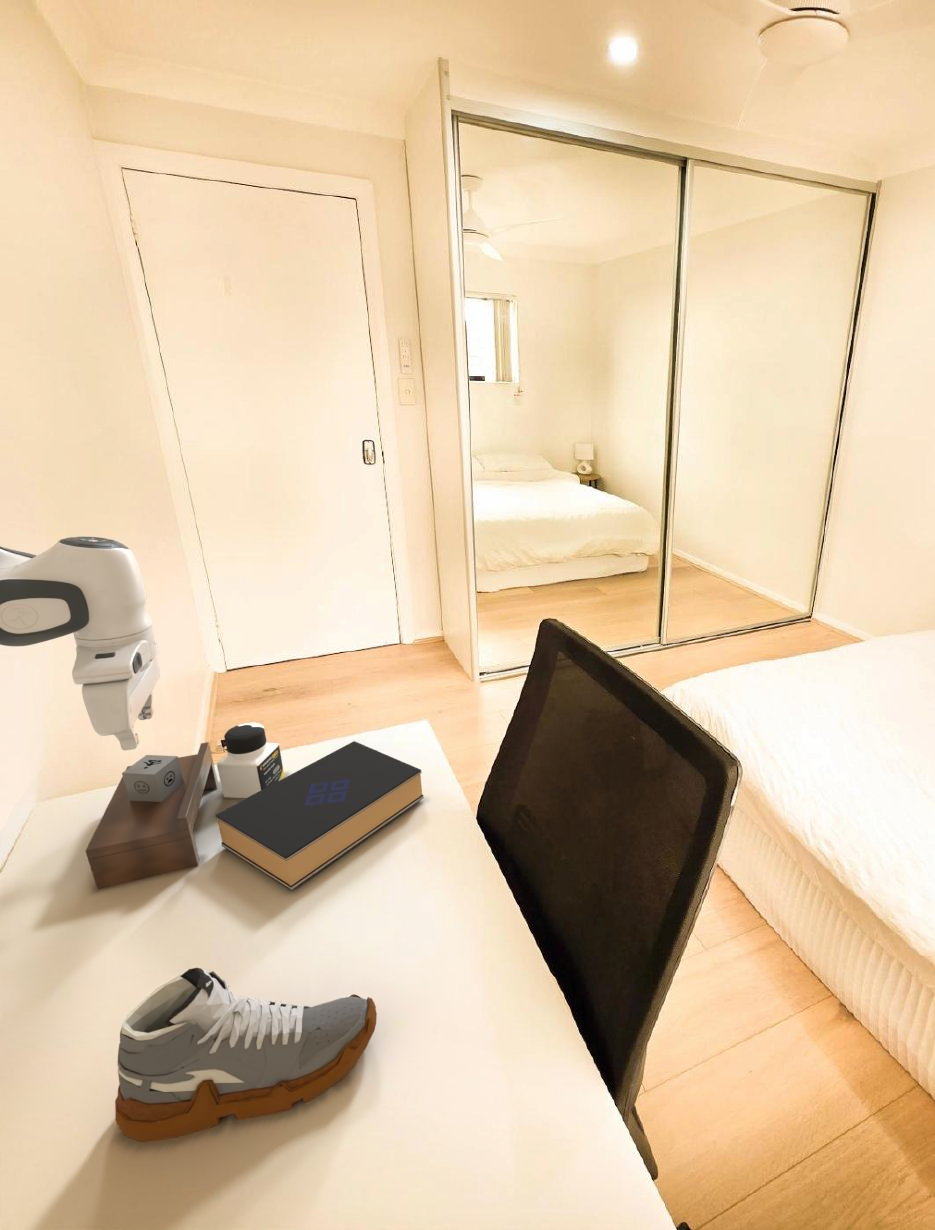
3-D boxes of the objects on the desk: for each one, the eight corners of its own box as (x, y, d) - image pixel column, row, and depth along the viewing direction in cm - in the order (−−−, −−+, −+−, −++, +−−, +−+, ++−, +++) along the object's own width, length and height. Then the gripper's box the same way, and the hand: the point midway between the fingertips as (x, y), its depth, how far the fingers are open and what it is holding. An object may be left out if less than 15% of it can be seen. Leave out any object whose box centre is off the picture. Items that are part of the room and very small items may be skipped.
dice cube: (183, 782, 98) (177, 756, 96) (161, 801, 93) (154, 774, 92) (153, 781, 98) (146, 754, 96) (129, 800, 93) (121, 773, 92)
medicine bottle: (263, 799, 106) (252, 740, 101) (223, 798, 106) (210, 738, 101) (285, 775, 112) (275, 719, 108) (247, 774, 112) (235, 717, 108)
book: (222, 850, 94) (214, 814, 92) (357, 771, 114) (353, 740, 112) (292, 895, 86) (285, 857, 84) (424, 801, 107) (421, 769, 104)
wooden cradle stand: (97, 891, 85) (81, 839, 82) (137, 800, 104) (124, 755, 101) (198, 867, 90) (186, 817, 87) (218, 785, 109) (208, 741, 106)
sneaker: (376, 1089, 62) (361, 983, 57) (102, 1163, 56) (57, 1050, 51) (382, 1007, 71) (369, 908, 66) (144, 1063, 64) (109, 957, 59)
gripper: (112, 626, 95) (131, 705, 99) (66, 679, 77) (92, 771, 82) (161, 622, 97) (177, 699, 102) (127, 672, 80) (148, 762, 85)
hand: (139, 731), depth 92 cm, fingers open, 8 cm apart
